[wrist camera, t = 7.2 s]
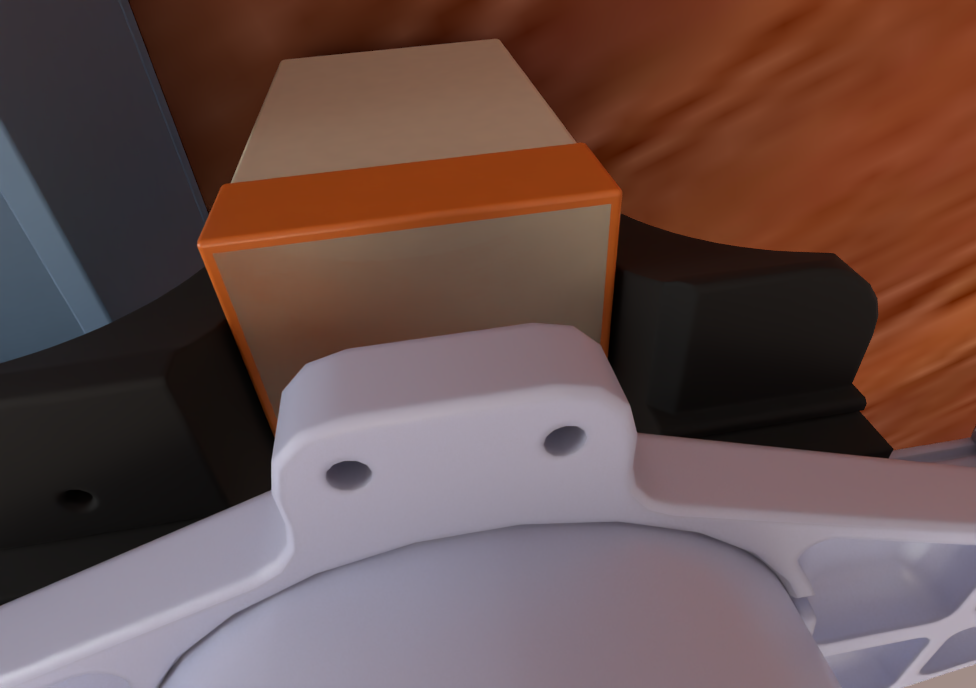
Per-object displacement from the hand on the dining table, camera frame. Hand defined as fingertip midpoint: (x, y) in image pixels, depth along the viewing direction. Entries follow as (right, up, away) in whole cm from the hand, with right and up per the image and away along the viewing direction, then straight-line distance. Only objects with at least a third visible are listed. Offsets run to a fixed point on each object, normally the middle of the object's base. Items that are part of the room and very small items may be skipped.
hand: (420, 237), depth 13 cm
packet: (0, +1, +1) cm, 2 cm away
